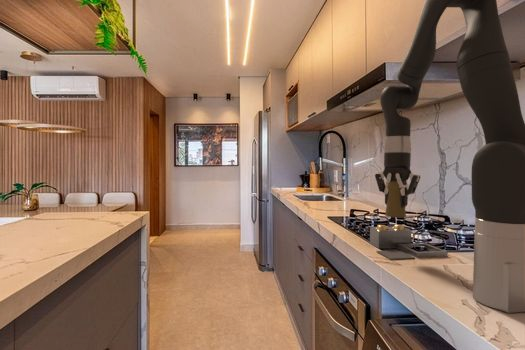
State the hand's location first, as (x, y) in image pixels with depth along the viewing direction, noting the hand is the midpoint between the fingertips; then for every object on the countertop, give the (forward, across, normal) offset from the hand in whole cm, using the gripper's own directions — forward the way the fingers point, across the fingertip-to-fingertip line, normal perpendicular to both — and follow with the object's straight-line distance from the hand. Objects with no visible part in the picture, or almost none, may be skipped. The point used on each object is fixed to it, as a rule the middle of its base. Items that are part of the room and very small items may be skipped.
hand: (395, 206), depth 95 cm
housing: (+15, -1, +9) cm, 18 cm away
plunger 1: (+13, -9, +7) cm, 17 cm away
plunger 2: (+13, -5, +13) cm, 19 cm away
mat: (+15, 0, 0) cm, 15 cm away
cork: (+3, 0, 0) cm, 3 cm away
